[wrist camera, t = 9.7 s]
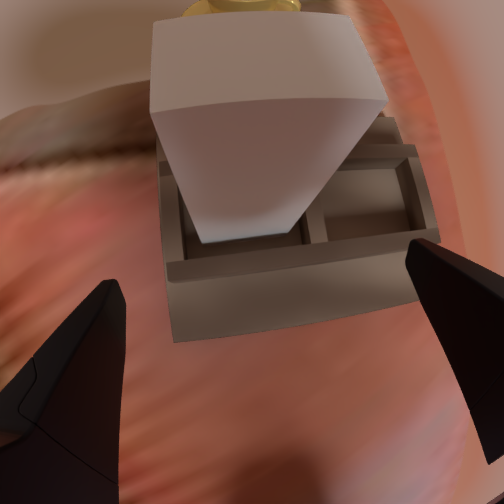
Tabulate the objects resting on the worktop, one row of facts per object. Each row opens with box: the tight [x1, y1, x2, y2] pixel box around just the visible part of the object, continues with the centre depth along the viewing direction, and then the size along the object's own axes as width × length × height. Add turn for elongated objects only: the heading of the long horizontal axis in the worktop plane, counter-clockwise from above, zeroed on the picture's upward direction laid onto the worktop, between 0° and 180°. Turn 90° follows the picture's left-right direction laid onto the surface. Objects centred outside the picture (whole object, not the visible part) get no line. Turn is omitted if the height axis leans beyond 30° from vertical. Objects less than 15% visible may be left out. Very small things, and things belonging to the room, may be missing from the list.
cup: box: [181, 0, 301, 17], centre depth 22 cm, size 12×12×5 cm
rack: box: [156, 117, 441, 343], centre depth 20 cm, size 14×18×3 cm
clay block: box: [150, 11, 389, 247], centre depth 13 cm, size 3×5×14 cm, turn 98°
